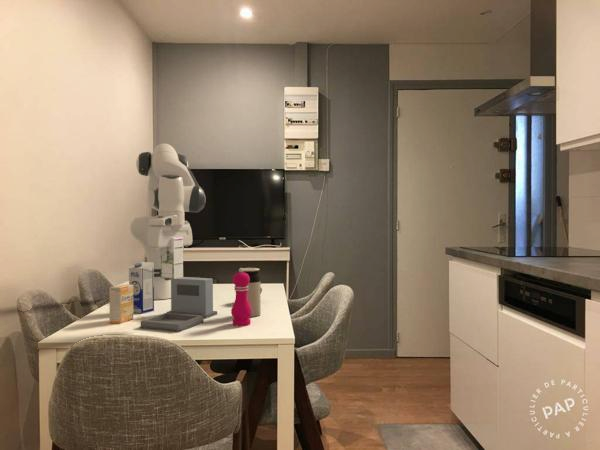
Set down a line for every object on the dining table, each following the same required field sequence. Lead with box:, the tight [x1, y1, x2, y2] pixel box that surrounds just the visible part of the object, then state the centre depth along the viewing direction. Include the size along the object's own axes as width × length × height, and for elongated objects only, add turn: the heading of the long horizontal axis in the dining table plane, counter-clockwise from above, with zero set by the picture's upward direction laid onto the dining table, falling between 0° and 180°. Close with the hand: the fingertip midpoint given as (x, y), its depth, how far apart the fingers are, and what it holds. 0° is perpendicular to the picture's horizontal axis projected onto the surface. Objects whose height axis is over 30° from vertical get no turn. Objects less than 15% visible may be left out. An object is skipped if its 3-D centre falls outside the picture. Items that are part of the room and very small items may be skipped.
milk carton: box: [128, 261, 155, 315], centre depth 177 cm, size 7×7×20 cm
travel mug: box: [242, 267, 262, 318], centre depth 169 cm, size 8×8×18 cm
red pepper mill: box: [230, 267, 252, 327], centre depth 155 cm, size 7×7×20 cm
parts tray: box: [140, 312, 204, 333], centre depth 153 cm, size 16×14×2 cm
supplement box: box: [108, 283, 134, 324], centre depth 161 cm, size 8×5×13 cm, turn 168°
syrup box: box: [161, 237, 184, 279], centre depth 153 cm, size 6×6×14 cm
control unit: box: [166, 276, 218, 320], centre depth 171 cm, size 18×8×14 cm, turn 68°
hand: (171, 259), depth 153 cm, fingers closed on syrup box, 6 cm apart
